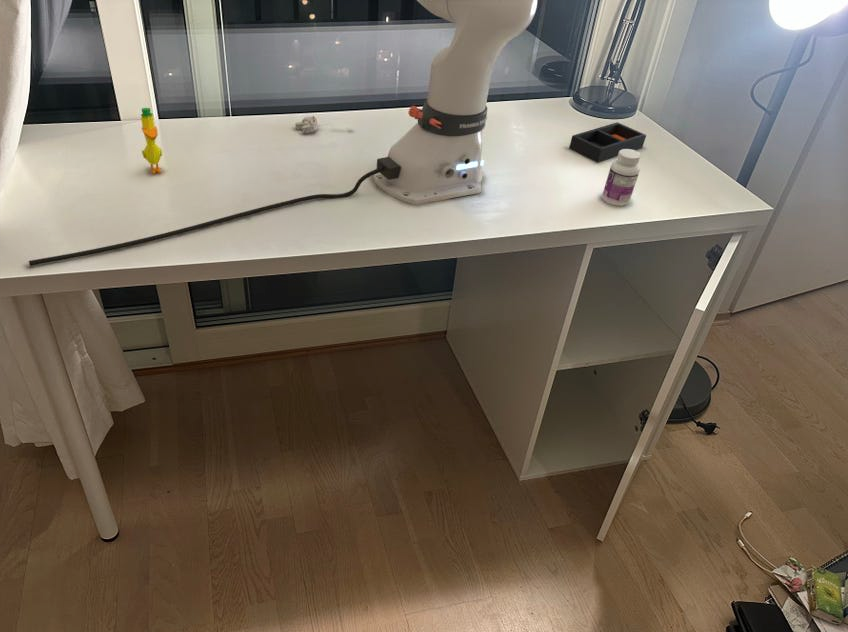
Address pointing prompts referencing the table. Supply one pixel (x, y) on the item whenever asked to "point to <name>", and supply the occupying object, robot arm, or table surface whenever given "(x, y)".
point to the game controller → (308, 124)
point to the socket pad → (606, 141)
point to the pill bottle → (622, 178)
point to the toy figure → (150, 140)
